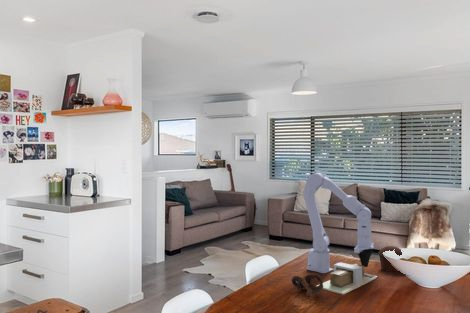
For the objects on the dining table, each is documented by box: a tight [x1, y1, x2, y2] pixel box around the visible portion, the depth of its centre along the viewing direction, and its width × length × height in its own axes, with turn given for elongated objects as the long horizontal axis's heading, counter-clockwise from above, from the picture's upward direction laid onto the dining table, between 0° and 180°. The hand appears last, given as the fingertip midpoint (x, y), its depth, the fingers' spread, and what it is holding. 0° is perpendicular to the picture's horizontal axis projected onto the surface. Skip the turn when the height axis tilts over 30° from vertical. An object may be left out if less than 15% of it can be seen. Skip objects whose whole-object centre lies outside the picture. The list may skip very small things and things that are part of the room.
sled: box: [329, 263, 365, 287], centre depth 161 cm, size 5×19×4 cm, turn 135°
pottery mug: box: [290, 273, 324, 298], centre depth 149 cm, size 12×10×8 cm
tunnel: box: [316, 262, 379, 296], centre depth 161 cm, size 12×28×7 cm, turn 135°
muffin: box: [378, 245, 402, 272], centre depth 179 cm, size 12×11×10 cm
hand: (364, 266), depth 171 cm, fingers closed
